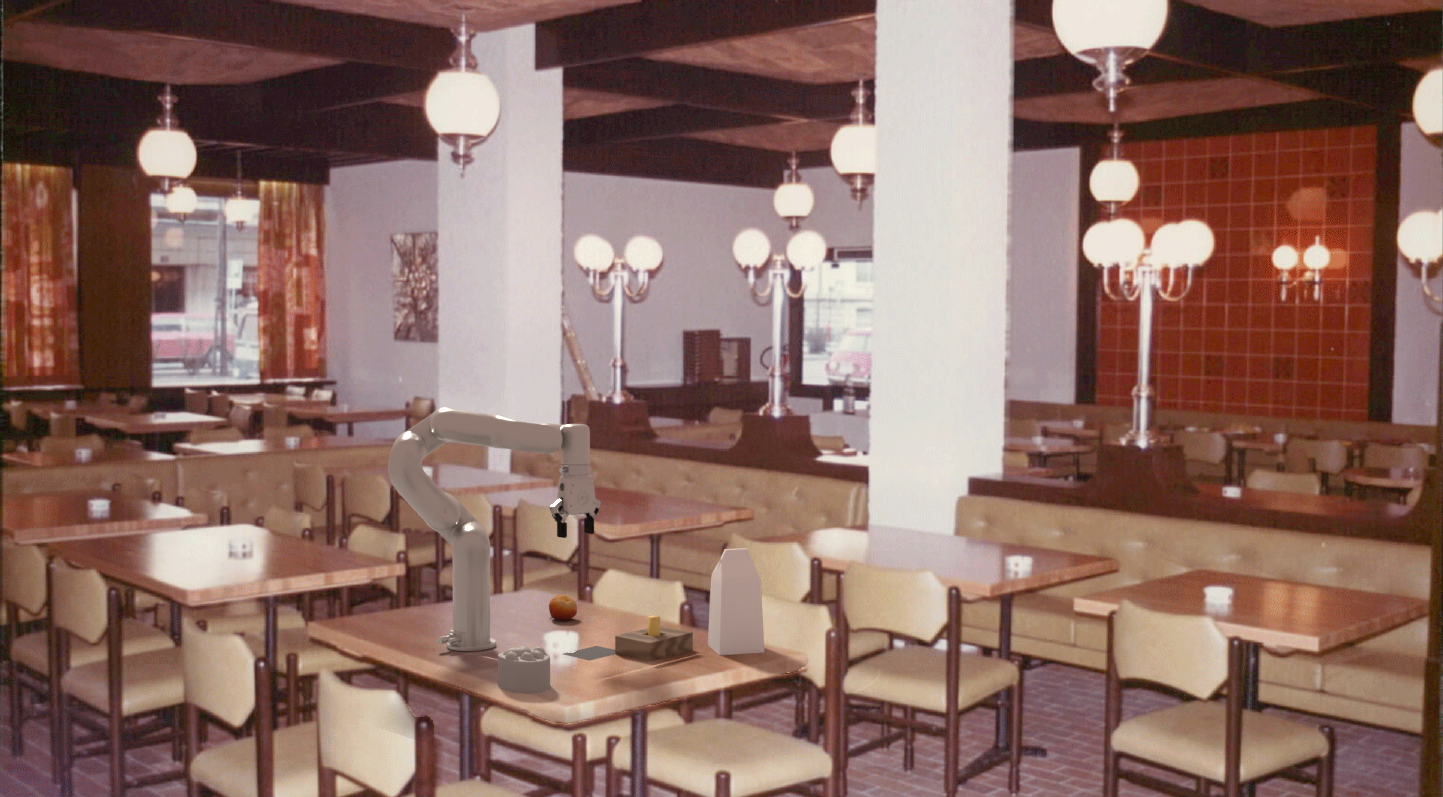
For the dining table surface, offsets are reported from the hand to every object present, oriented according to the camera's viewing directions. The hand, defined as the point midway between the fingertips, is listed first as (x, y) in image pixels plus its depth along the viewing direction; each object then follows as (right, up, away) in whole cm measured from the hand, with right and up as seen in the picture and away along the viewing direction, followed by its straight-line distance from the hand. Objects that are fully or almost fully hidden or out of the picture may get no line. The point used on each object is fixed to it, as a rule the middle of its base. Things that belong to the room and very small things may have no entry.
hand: (575, 535), depth 346 cm
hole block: (+21, -29, -12) cm, 38 cm away
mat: (+6, -29, -13) cm, 32 cm away
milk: (+42, -29, -7) cm, 52 cm away
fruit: (-7, -27, +28) cm, 40 cm away
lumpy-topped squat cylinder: (-6, -31, -44) cm, 54 cm away
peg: (+21, -29, -12) cm, 38 cm away
